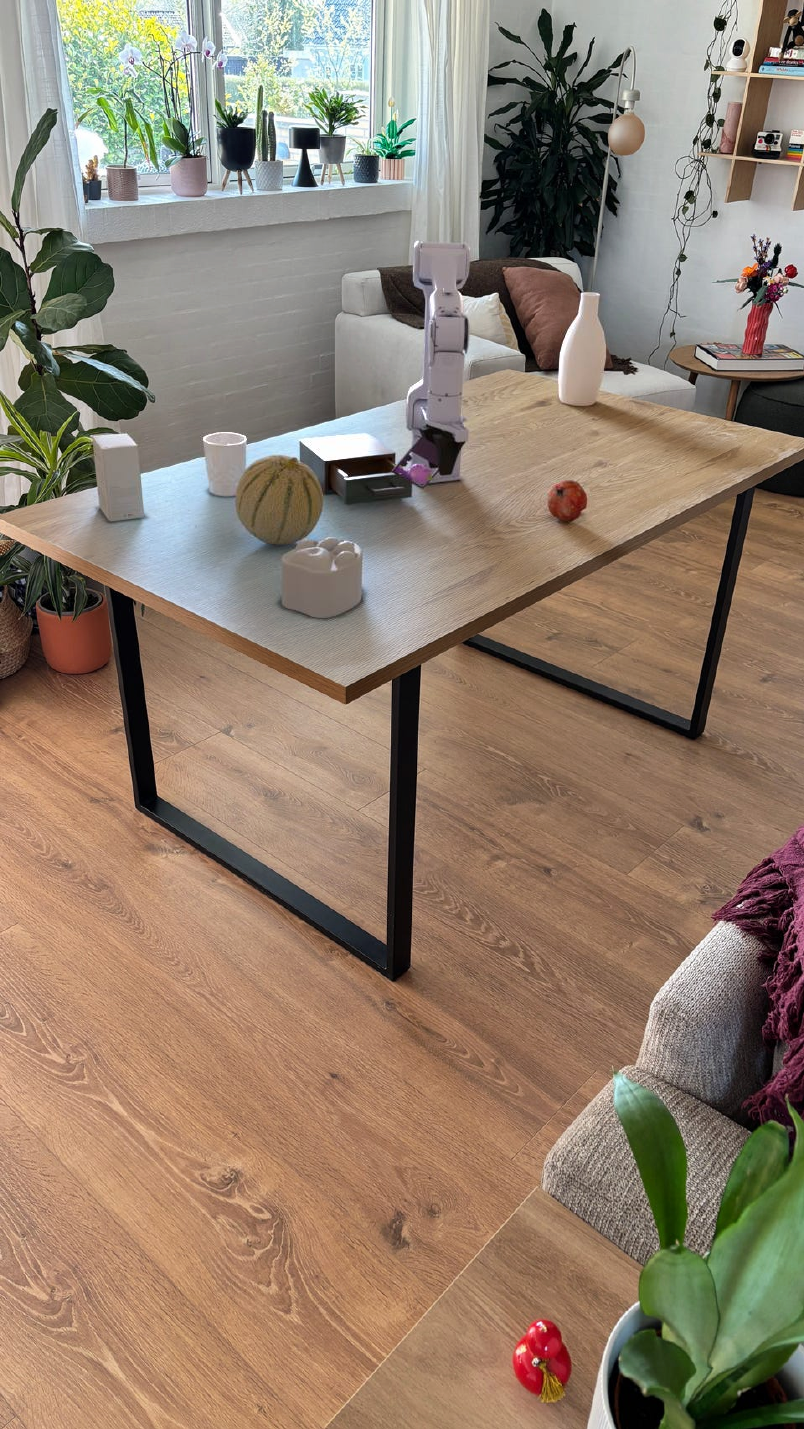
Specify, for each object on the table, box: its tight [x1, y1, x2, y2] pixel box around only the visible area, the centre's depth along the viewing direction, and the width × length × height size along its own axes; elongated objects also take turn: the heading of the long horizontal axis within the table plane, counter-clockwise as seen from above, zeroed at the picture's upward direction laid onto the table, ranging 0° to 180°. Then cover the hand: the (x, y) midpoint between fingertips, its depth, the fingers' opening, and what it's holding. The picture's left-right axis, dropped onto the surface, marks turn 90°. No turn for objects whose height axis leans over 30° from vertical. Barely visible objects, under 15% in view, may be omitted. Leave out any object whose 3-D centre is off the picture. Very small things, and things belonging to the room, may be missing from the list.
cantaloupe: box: [234, 454, 324, 546], centre depth 181 cm, size 15×15×15 cm
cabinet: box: [298, 432, 397, 495], centre depth 212 cm, size 14×15×7 cm
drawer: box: [328, 458, 413, 506], centre depth 203 cm, size 17×13×5 cm
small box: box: [91, 433, 145, 522], centre depth 191 cm, size 8×6×13 cm
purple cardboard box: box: [392, 437, 439, 490], centre depth 188 cm, size 7×5×9 cm
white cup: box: [202, 432, 247, 497], centre depth 203 cm, size 8×8×10 cm
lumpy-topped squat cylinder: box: [280, 536, 363, 619], centre depth 164 cm, size 10×13×9 cm
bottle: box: [558, 291, 607, 407], centre depth 264 cm, size 11×11×25 cm
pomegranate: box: [546, 479, 588, 523], centre depth 198 cm, size 7×7×10 cm
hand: (440, 471), depth 188 cm, fingers closed on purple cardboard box, 3 cm apart
